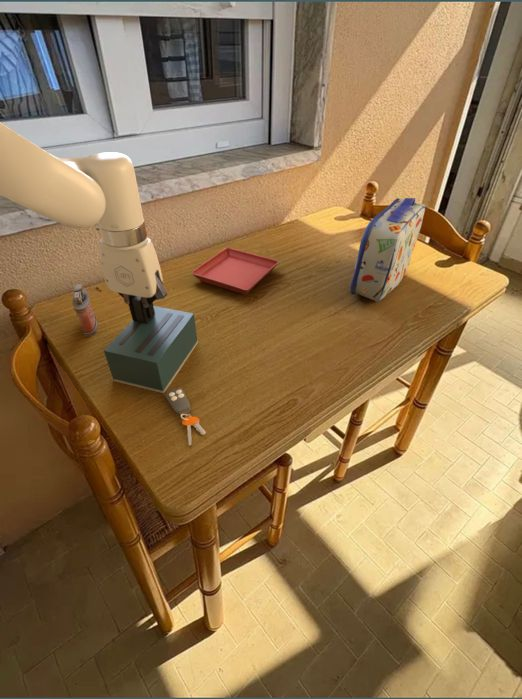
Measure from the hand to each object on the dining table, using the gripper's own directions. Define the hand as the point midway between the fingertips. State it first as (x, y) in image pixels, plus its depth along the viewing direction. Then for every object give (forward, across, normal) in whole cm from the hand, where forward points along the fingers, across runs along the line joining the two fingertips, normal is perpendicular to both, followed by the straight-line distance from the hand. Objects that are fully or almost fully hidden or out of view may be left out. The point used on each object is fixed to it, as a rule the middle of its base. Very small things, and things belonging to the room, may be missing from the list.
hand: (143, 317), depth 78 cm
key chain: (+8, +16, -15) cm, 23 cm away
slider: (0, 0, 0) cm, 0 cm away
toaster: (+8, +4, -3) cm, 9 cm away
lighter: (+8, -18, +3) cm, 20 cm away
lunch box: (+8, +46, +44) cm, 64 cm away
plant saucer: (+8, +8, +35) cm, 37 cm away
